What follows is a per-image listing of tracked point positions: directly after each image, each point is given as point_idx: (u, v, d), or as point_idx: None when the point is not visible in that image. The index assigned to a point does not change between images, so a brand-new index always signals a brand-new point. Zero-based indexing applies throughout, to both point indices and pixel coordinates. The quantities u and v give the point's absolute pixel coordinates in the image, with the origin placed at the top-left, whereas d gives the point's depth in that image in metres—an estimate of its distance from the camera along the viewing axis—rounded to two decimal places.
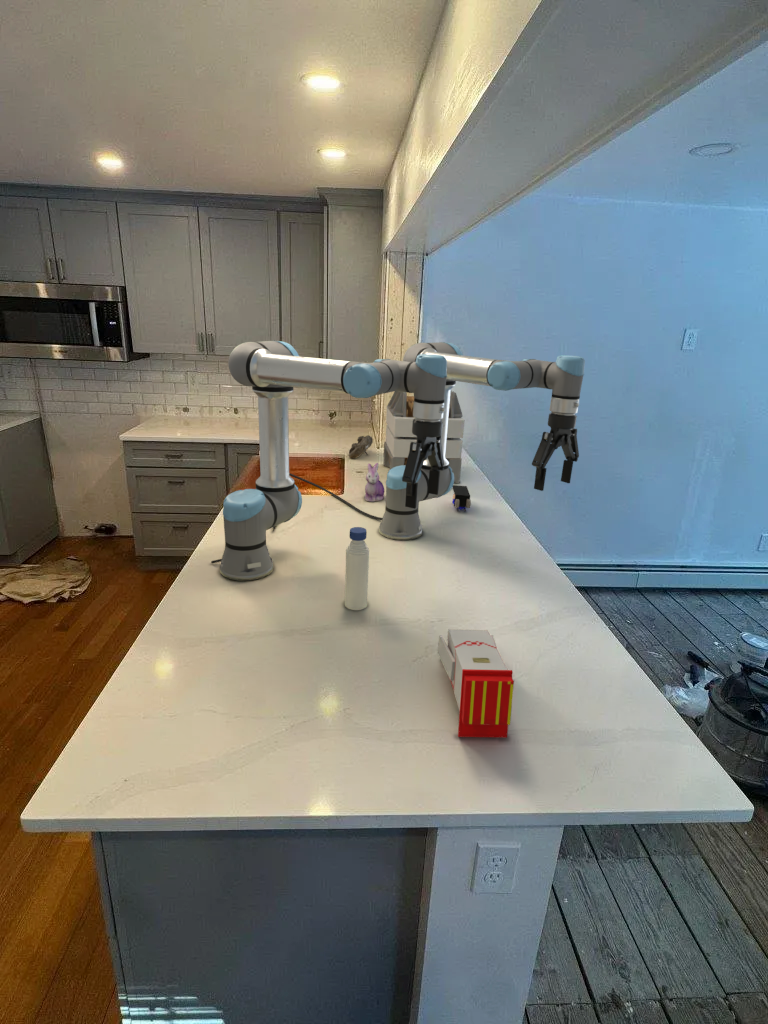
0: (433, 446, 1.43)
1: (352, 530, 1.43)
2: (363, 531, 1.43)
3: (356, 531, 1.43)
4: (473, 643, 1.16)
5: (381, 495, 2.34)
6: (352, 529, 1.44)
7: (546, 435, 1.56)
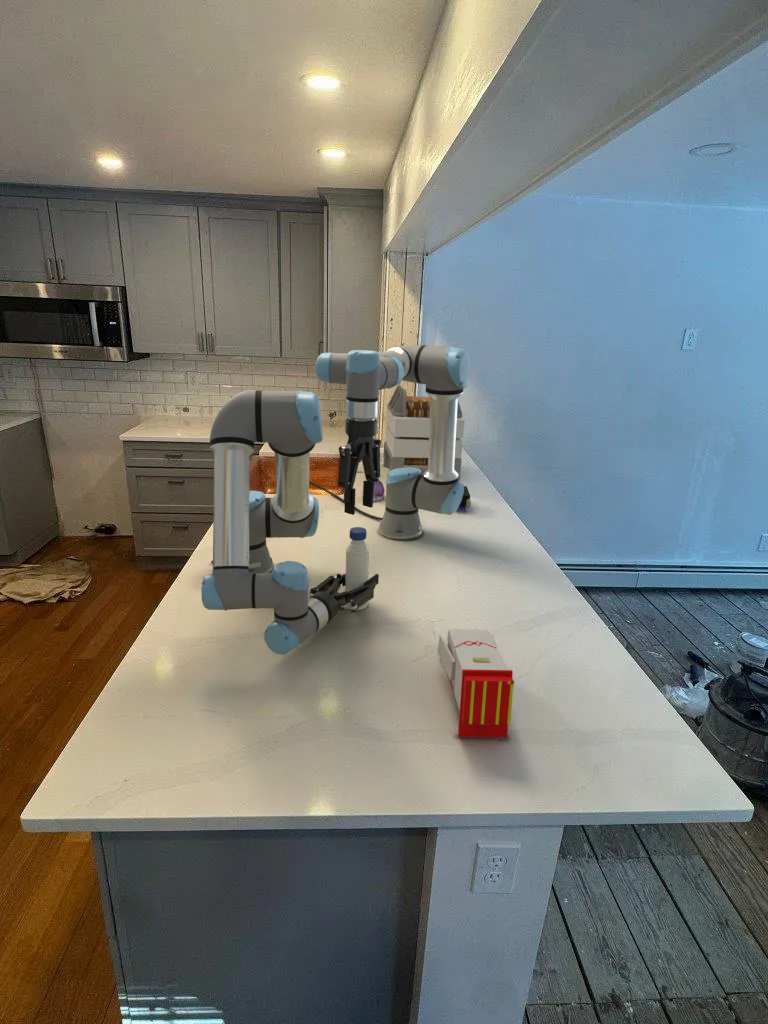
0: None
1: (352, 530, 1.43)
2: (363, 531, 1.43)
3: (356, 531, 1.43)
4: (473, 643, 1.16)
5: (381, 495, 2.34)
6: (352, 529, 1.44)
7: None
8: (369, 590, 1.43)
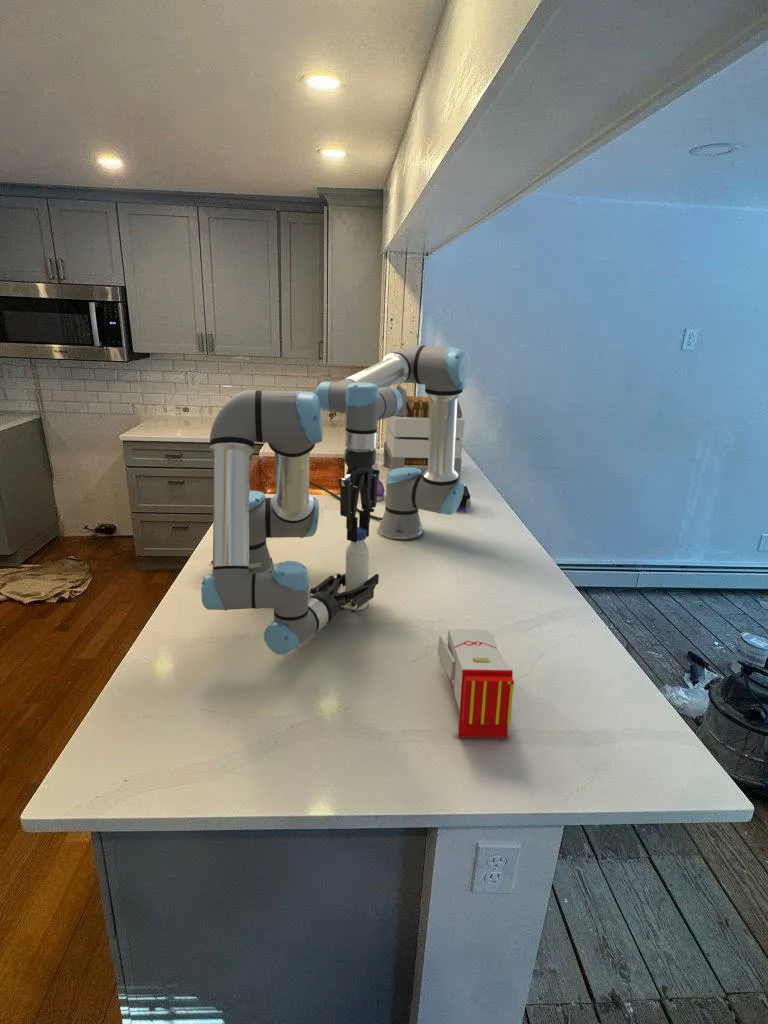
0: None
1: None
2: (363, 531, 1.43)
3: None
4: (473, 643, 1.16)
5: (381, 495, 2.34)
6: None
7: None
8: (369, 590, 1.43)
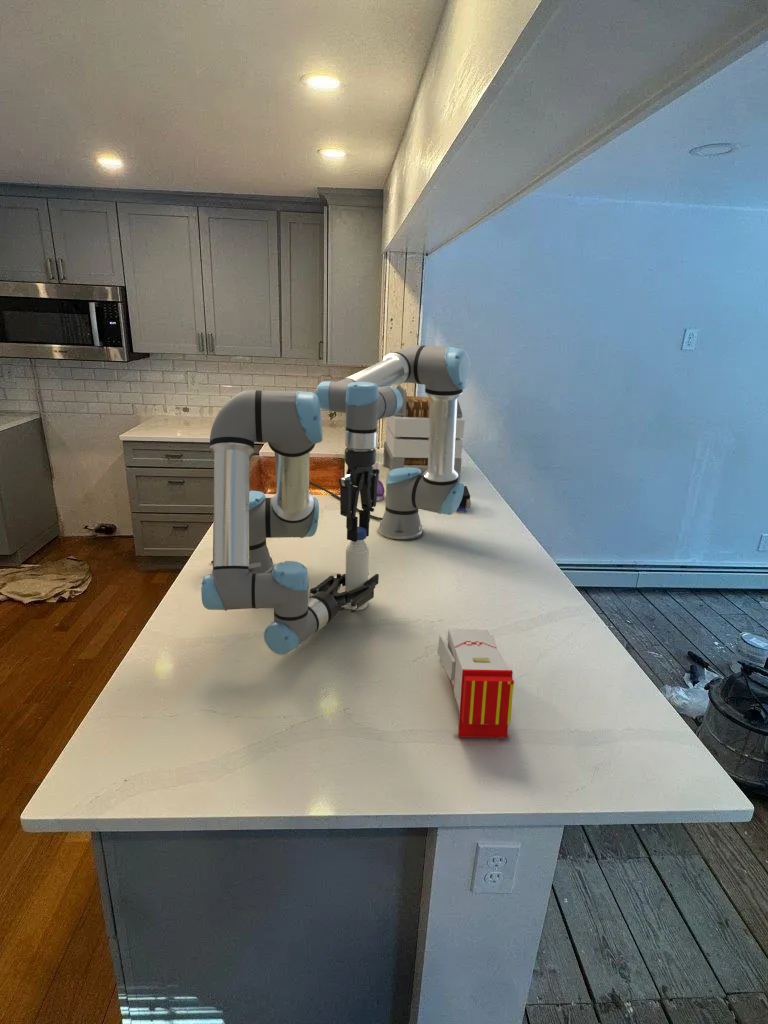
0: None
1: (361, 531, 1.43)
2: (360, 527, 1.45)
3: (362, 529, 1.44)
4: (473, 643, 1.16)
5: (381, 495, 2.34)
6: (358, 531, 1.43)
7: None
8: (369, 590, 1.43)
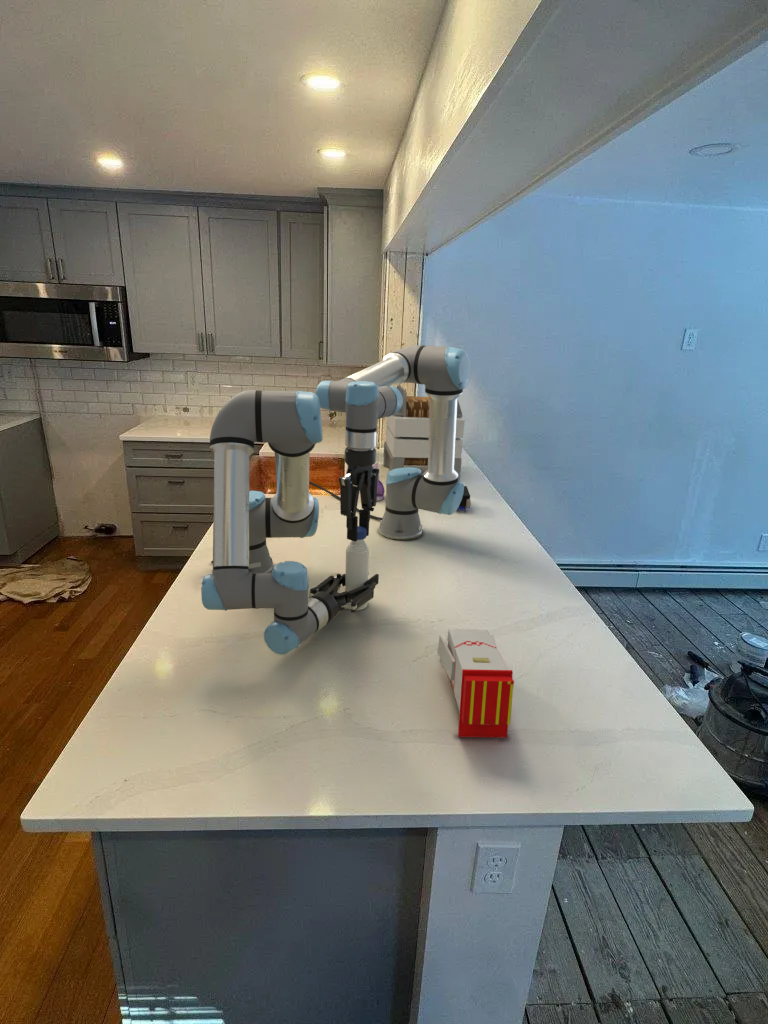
0: None
1: (362, 527, 1.45)
2: None
3: None
4: (473, 643, 1.16)
5: (381, 495, 2.34)
6: (363, 528, 1.44)
7: None
8: (369, 590, 1.43)
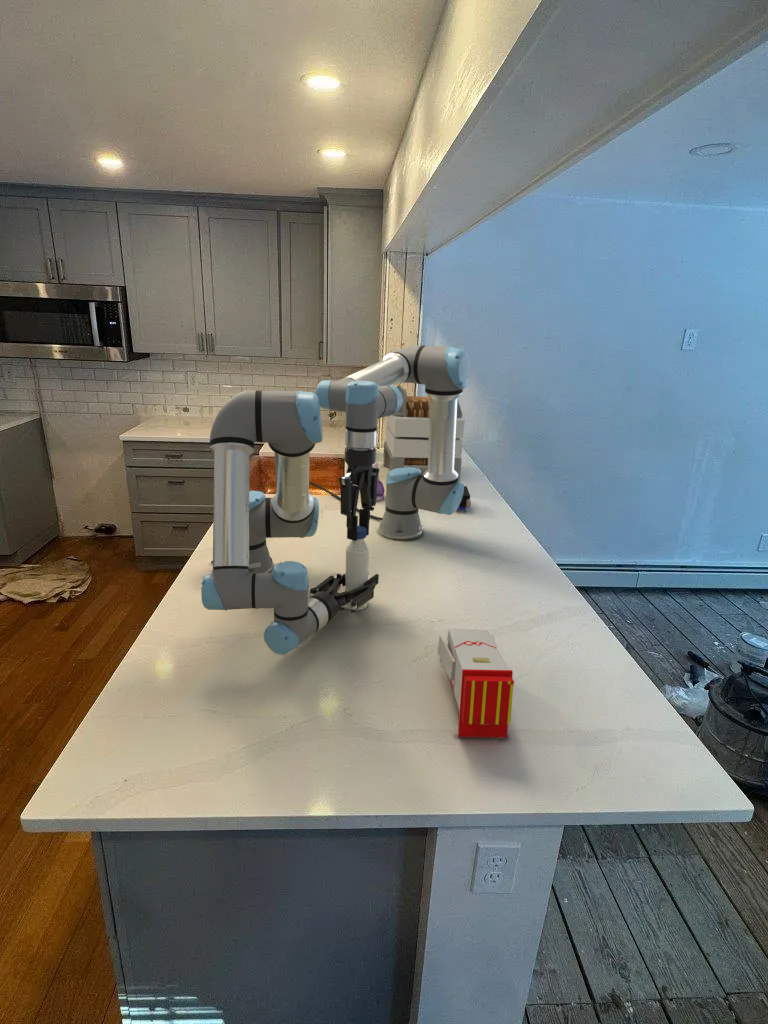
0: None
1: None
2: (359, 531, 1.42)
3: None
4: (473, 643, 1.16)
5: (381, 495, 2.34)
6: None
7: None
8: (369, 590, 1.43)
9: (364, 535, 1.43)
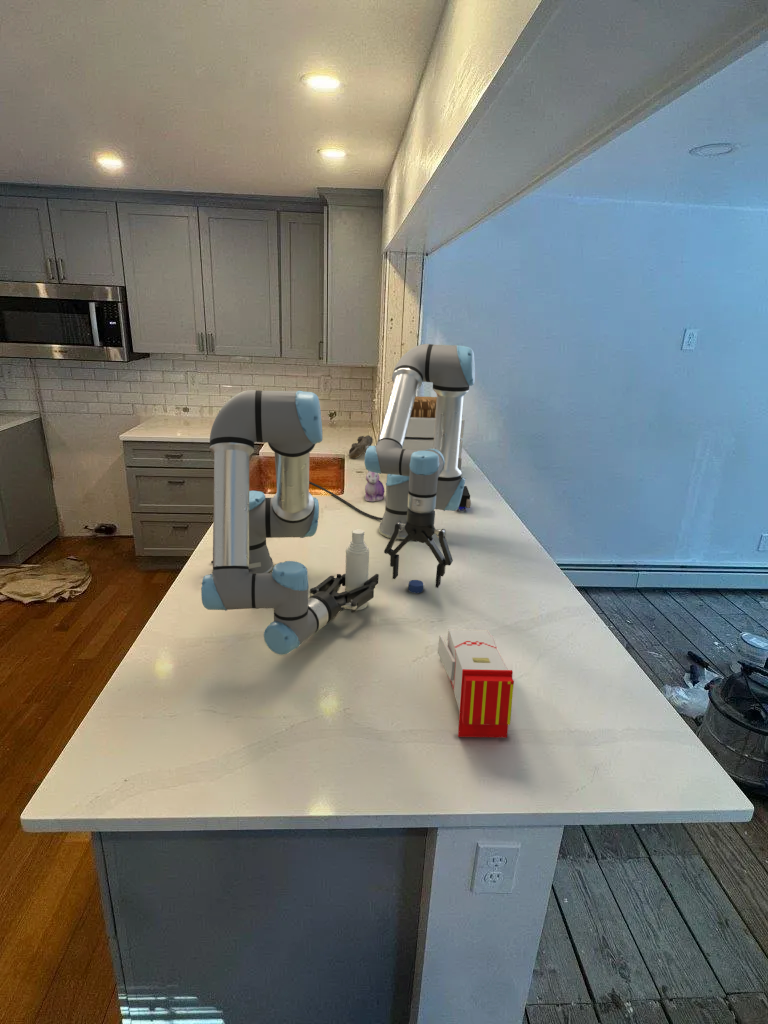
0: None
1: (415, 585, 1.59)
2: (420, 582, 1.61)
3: (418, 584, 1.59)
4: (473, 643, 1.16)
5: (381, 495, 2.34)
6: (413, 584, 1.59)
7: None
8: (369, 590, 1.43)
9: None
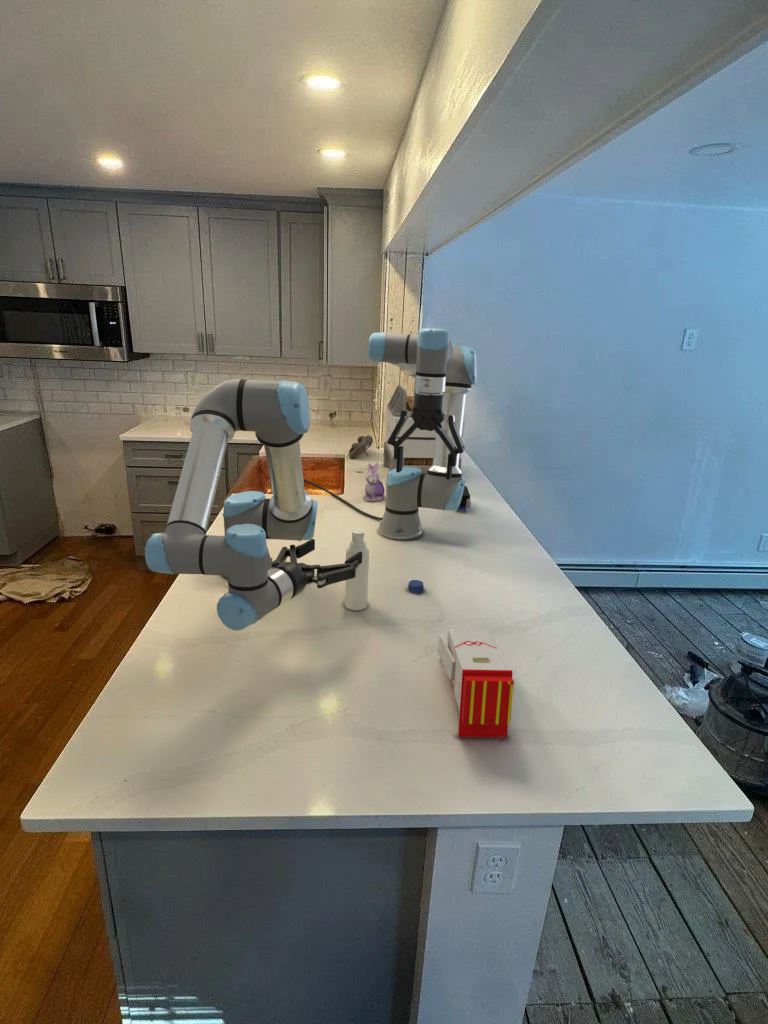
0: None
1: (415, 585, 1.59)
2: (420, 582, 1.61)
3: (418, 584, 1.59)
4: (473, 643, 1.16)
5: (381, 495, 2.34)
6: (413, 584, 1.59)
7: None
8: (348, 568, 1.25)
9: None
